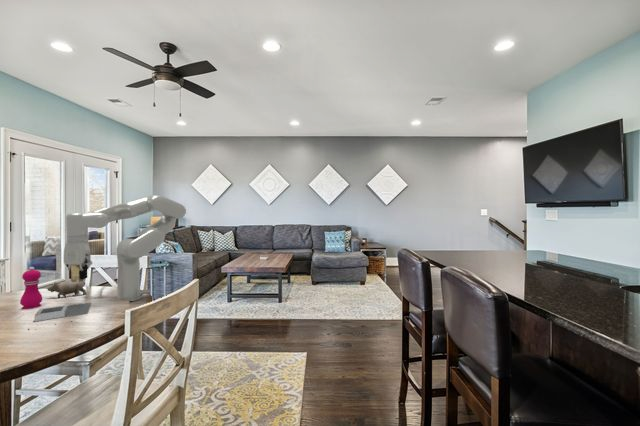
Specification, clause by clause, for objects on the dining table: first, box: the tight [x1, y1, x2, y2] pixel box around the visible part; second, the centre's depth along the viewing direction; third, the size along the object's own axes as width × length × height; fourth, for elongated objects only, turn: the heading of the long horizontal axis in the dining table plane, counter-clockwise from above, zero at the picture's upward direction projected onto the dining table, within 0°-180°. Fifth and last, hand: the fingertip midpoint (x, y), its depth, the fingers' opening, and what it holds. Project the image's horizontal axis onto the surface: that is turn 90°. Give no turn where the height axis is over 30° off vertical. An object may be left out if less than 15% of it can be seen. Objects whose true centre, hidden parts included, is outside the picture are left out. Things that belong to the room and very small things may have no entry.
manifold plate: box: [32, 302, 92, 323], centre depth 124 cm, size 17×18×4 cm
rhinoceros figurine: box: [45, 279, 87, 299], centre depth 149 cm, size 8×14×15 cm
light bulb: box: [70, 263, 86, 282], centre depth 131 cm, size 5×5×8 cm
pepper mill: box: [19, 266, 43, 310], centre depth 130 cm, size 7×7×20 cm
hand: (78, 278), depth 131 cm, fingers closed on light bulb, 5 cm apart
